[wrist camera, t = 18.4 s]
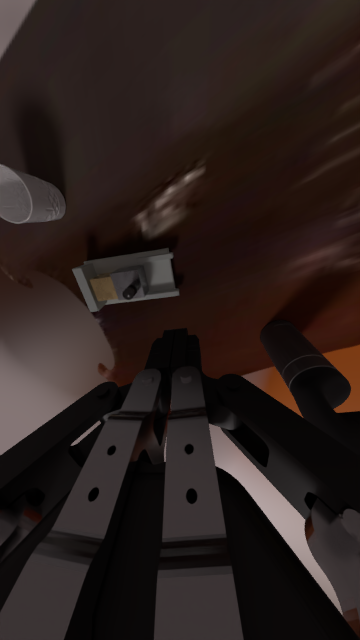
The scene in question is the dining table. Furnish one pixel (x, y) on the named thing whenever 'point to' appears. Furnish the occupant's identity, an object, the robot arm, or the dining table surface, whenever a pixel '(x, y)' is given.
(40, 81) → the dining table surface
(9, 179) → the white cup
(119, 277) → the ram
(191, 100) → the dining table surface
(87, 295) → the press
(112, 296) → the tan cube
